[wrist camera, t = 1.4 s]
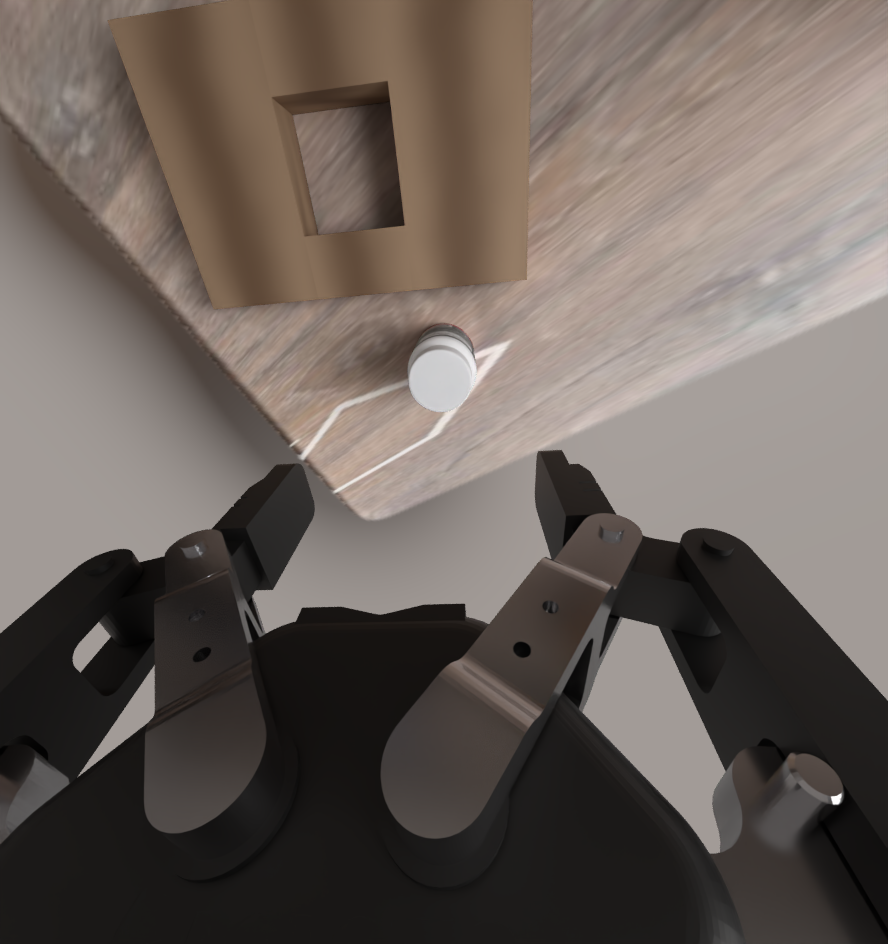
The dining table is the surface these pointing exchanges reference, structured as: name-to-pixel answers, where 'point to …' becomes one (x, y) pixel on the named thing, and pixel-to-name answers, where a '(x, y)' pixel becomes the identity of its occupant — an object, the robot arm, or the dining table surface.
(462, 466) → the dining table surface
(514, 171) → the board
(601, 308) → the dining table surface
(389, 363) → the dining table surface
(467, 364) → the pill bottle
